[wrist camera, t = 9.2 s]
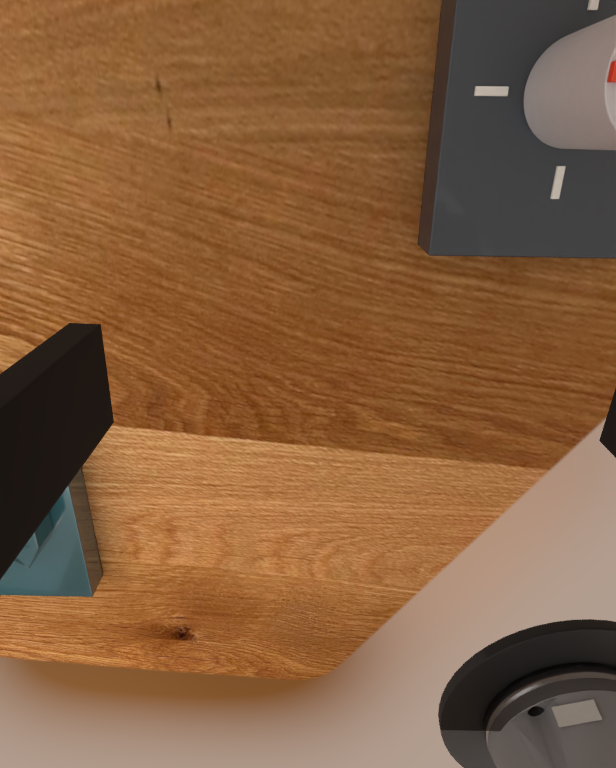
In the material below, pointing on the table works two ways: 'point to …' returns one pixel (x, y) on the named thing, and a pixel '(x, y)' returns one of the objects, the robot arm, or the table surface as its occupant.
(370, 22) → the table surface
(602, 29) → the tap dial
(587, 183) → the dial base
